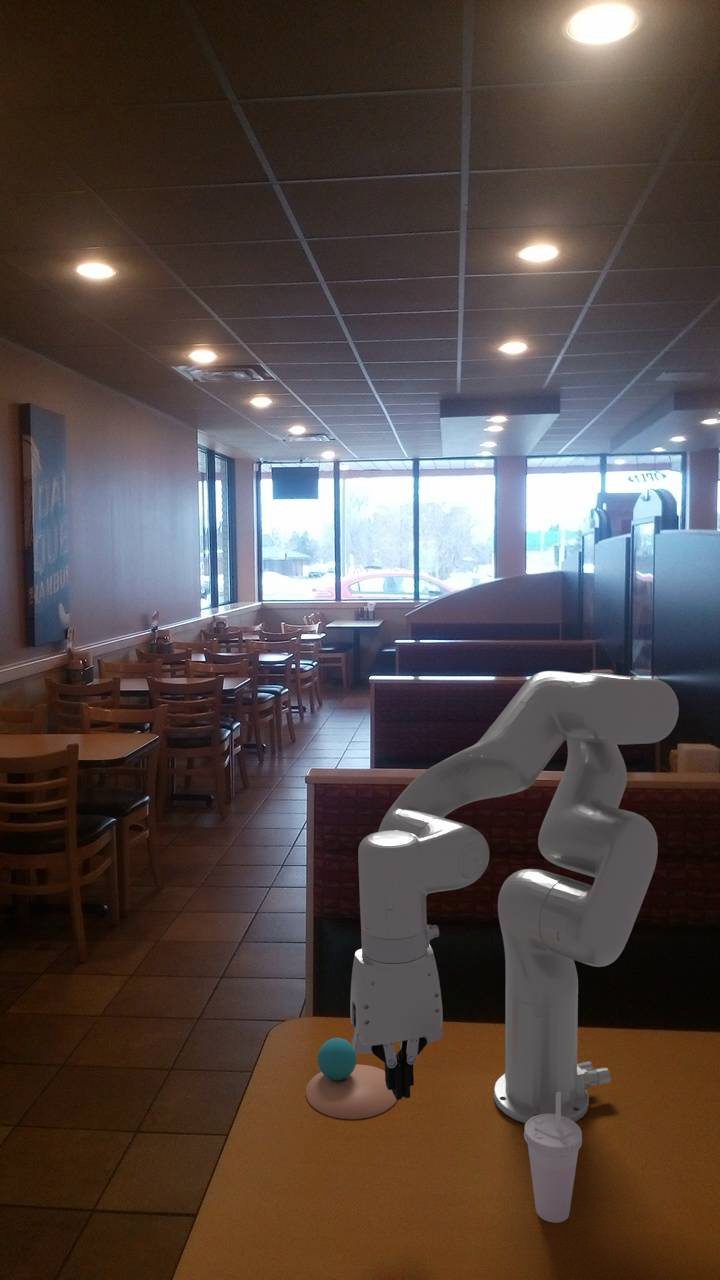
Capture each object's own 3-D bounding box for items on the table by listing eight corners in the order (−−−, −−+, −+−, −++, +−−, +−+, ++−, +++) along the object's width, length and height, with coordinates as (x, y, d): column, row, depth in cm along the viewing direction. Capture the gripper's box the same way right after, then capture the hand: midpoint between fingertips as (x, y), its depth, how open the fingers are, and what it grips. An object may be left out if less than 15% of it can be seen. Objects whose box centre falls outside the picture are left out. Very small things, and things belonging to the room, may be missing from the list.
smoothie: (582, 1235, 102) (583, 1112, 100) (522, 1227, 103) (523, 1106, 102) (580, 1195, 108) (581, 1079, 107) (524, 1188, 109) (524, 1074, 108)
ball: (358, 1034, 132) (364, 1076, 130) (347, 1036, 137) (352, 1077, 135) (321, 1039, 131) (326, 1082, 128) (311, 1041, 135) (315, 1083, 133)
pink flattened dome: (385, 1060, 137) (385, 1058, 137) (411, 1110, 125) (411, 1109, 125) (298, 1073, 134) (298, 1071, 134) (316, 1126, 122) (316, 1124, 122)
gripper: (445, 919, 112) (449, 1063, 114) (323, 937, 108) (330, 1086, 111) (467, 945, 105) (472, 1099, 107) (338, 965, 101) (344, 1124, 103)
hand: (399, 1092), depth 109 cm, fingers closed
